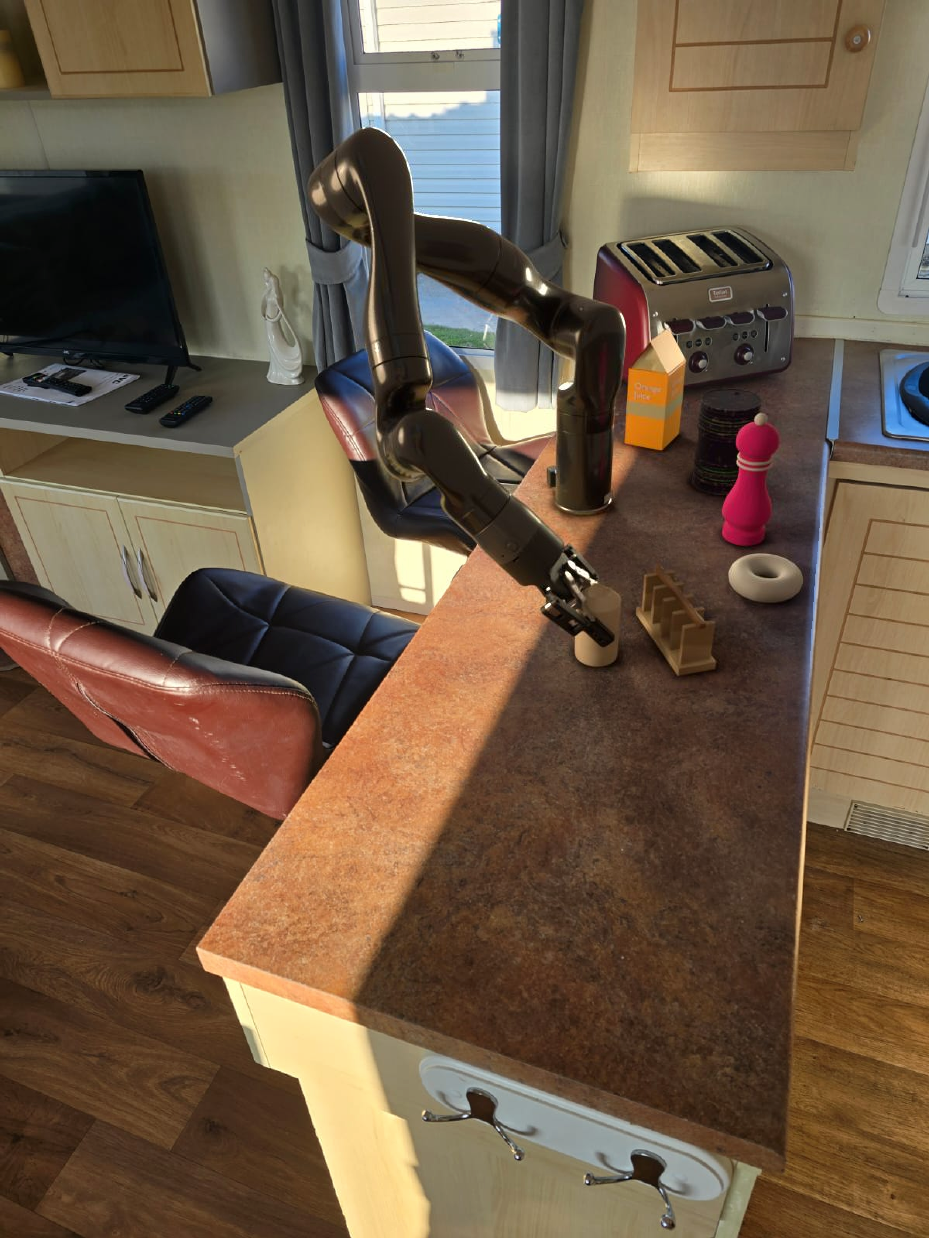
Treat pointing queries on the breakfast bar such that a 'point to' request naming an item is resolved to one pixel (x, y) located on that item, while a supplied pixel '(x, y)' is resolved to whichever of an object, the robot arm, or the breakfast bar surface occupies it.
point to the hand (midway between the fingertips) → (611, 627)
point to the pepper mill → (751, 484)
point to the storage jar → (721, 437)
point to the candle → (608, 612)
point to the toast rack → (676, 623)
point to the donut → (754, 587)
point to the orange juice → (655, 394)
